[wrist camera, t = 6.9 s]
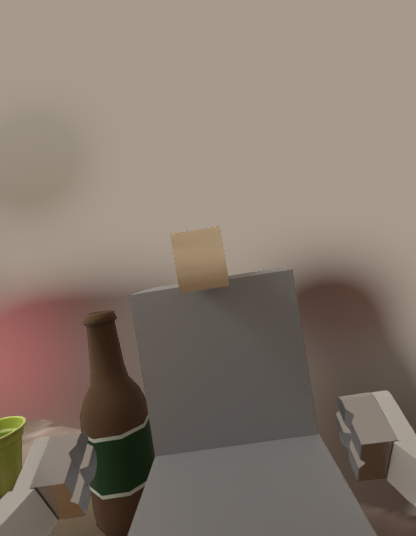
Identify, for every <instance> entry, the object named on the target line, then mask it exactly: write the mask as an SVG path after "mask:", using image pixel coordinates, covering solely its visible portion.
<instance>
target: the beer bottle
mask: <svg viewBox="0 0 416 536" xmlns="http://www.w3.org/2000/svg"><path fill="white" fill-rule="evenodd" d="M116 318H117V317H116V315H115V313H114V311H111V310H105V311H99V312H94V313H90V314H87V315H86V316H84V321H83V325H85V326H86V327H87V336H88V348H89V359H90V369H91V380H90V381H91V382H90V387H89V390H88V392H87V394H86V396H85V399H84V401H83V404H82V410H81V414H80V421H81V432H85V433H86V435H87V436H88V438H89V439H88V443H87V444H89V445H91V446H93V447H94V449H95V451H96V456H97V469H96V473H95V478H94V479H93V480H92V481H91V482H90V484H89V485H90V491H91V497H92V503H93V510H94V514H95V519H96V523H97V526H98V527H99V528H100V529H101V530H102V531H103V532H104V533H105V534H106V535H107V536H128V533H129V530H130V527H131V524H132V521H133V518H134V516H135V513H136V510H137V507H138V504H139V501H140V499H141V496H142V493H143V490H144V487H145V484H146V481H147V479H148V476H149V473H150V470H151V467H152V464H153V462H154V459H155V452H154V446H153V440H152V433H151V427H150V421H149V415H148V408H147V402H146V398H145V396H144V394H143V393H142V391H141V389H140V387H139V386H138V385H137V384H136V383H135V382H134V381H133V380H132V379H131V378H130V377H129V376H128V373H127V371H126V368H125V365H124V361H123V357H122V352H121V348H120V343H119V339H118V335H117V330H116V326H115V320H116Z"/></svg>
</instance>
